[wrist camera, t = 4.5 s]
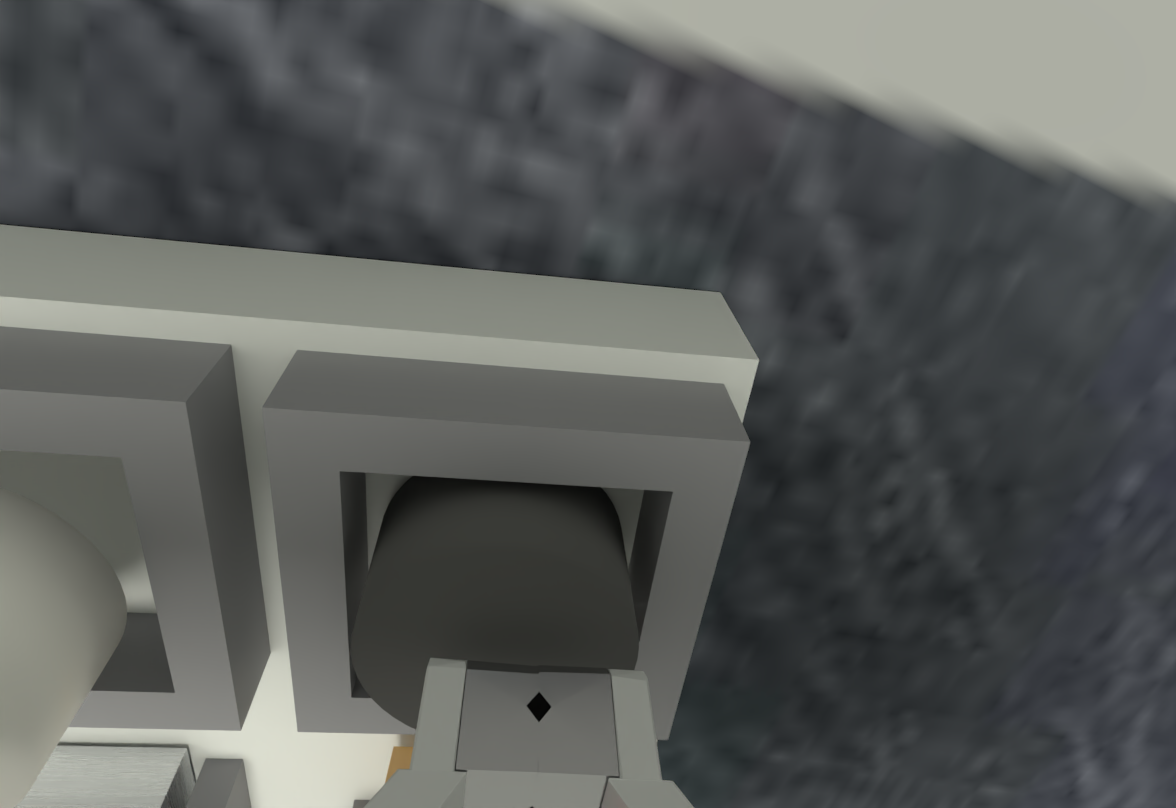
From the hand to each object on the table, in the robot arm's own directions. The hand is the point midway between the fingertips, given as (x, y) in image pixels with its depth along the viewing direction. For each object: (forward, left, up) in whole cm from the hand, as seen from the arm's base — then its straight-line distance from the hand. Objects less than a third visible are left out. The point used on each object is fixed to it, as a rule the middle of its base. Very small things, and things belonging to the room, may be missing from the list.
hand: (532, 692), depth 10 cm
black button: (+1, 0, -4) cm, 4 cm away
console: (+5, +6, -7) cm, 10 cm away
